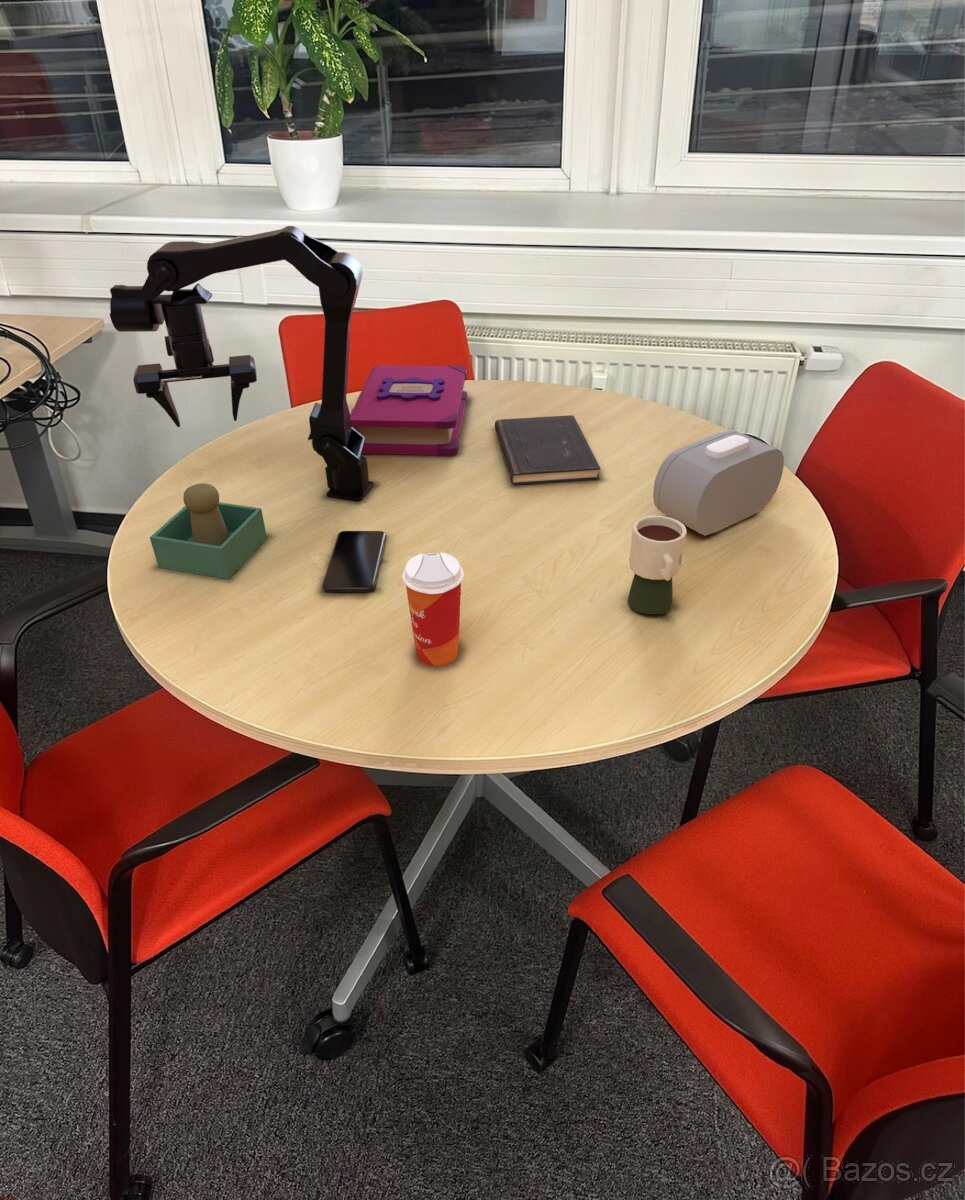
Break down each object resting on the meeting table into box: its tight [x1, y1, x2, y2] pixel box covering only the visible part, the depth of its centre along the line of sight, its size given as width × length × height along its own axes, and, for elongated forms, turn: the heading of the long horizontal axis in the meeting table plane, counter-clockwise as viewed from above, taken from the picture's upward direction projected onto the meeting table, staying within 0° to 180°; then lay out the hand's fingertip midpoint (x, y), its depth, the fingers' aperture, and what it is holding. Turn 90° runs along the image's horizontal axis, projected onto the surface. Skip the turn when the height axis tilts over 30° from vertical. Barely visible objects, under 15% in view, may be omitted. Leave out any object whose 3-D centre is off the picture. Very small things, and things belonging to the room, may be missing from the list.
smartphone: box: [321, 530, 387, 593], centre depth 128 cm, size 8×1×16 cm
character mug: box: [627, 515, 687, 615], centre depth 115 cm, size 11×7×13 cm, turn 8°
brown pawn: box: [182, 482, 230, 546], centre depth 127 cm, size 6×6×11 cm
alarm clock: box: [652, 429, 785, 537], centre depth 135 cm, size 21×10×13 cm, turn 126°
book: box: [350, 364, 468, 457], centre depth 166 cm, size 21×28×8 cm
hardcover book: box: [494, 414, 601, 486], centre depth 157 cm, size 16×23×2 cm
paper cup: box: [401, 551, 465, 667], centre depth 107 cm, size 8×8×14 cm
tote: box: [149, 501, 268, 580], centre depth 129 cm, size 12×12×6 cm
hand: (207, 423), depth 139 cm, fingers open, 9 cm apart
